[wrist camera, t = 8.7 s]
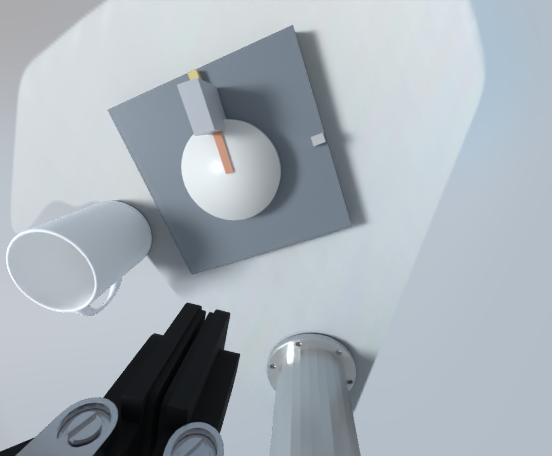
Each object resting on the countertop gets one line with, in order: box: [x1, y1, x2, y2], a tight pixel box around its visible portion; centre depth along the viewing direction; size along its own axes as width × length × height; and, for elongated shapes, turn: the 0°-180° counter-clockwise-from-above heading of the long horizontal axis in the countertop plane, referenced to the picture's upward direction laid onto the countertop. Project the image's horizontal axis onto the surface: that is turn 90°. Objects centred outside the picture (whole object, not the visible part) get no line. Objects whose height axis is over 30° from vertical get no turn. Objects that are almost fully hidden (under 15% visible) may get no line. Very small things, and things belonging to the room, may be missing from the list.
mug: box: [6, 201, 152, 316], centre depth 31 cm, size 9×12×11 cm
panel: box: [108, 25, 352, 274], centre depth 30 cm, size 20×20×3 cm
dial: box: [177, 78, 281, 220], centre depth 26 cm, size 13×10×5 cm
